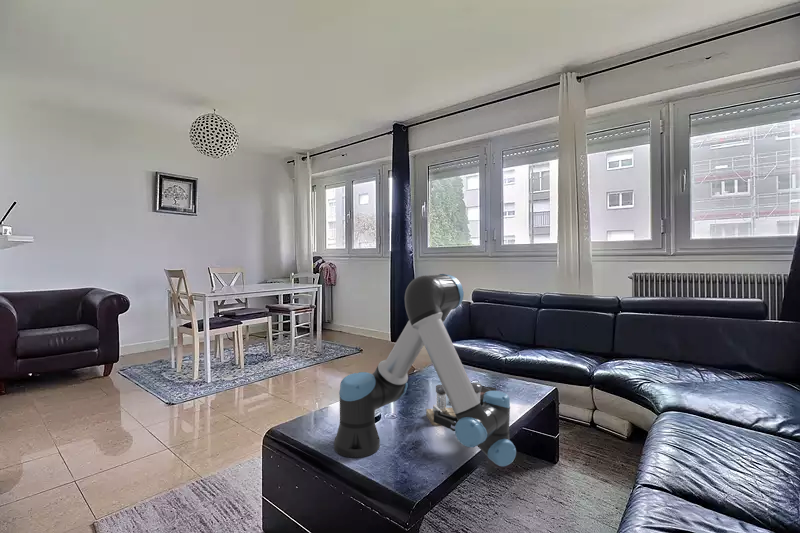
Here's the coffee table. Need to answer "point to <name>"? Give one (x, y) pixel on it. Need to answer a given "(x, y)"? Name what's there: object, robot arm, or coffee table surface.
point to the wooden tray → (431, 415)
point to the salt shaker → (441, 398)
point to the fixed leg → (477, 389)
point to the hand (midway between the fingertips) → (451, 406)
